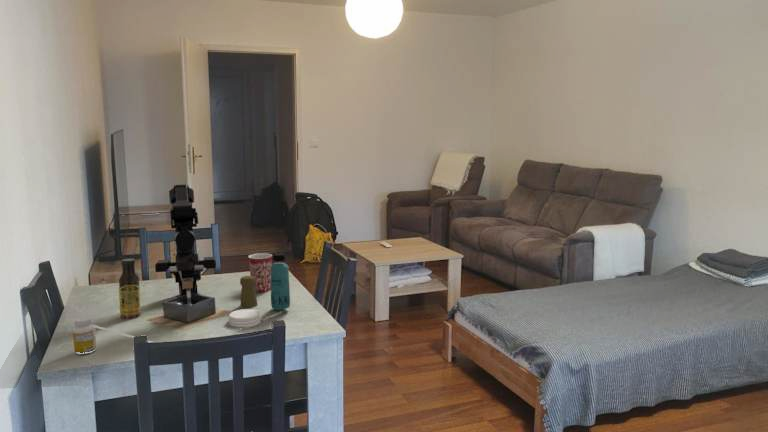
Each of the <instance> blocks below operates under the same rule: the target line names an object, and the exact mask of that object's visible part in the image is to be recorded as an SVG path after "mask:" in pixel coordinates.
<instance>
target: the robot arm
mask: <svg viewBox="0 0 768 432" xmlns="http://www.w3.org/2000/svg"><path fill="white" fill-rule="evenodd" d="M168 197H169V204H170V205H171V208H170V209H169V210H170V212H169V213H170V224H171V225H170V227H171V228H170V229H174V235H175V237H174V239H175V240H174V241H175V250H176V253H175V254H176V255H175V261H171V260H170V259H159V260H158V261H156V263H155V265H154V270H155V273H163V272H164V273H165V272H166V271H168V270H169V272H168V273H169V274H170V275H171V274H172V275H173V276H174V279H175V281H174V282H175V284H177V283H178V290H179V291H178V293H179V294H177V295H176V297H180V296H183V295H186V294H187V291H186V289H183V288H182V281H183V279H193V288H190V293H194V294H199V295H201V293H199V292H198V290H199V289H198V284H197V281H198V282H199V281H200V280H202V276H201V275H202V274H201V272H204V270H205V269H206V270H209V269H212V270H213V269H216V268H217V265H218V263H217V257H215V256H205V257H203V259H202V260H199V259H200V258H199V254H198V253H196V247H195V243H196V242H195V241H196V238H195V232H194V230H195V229H194V228H197V227H198V224H199V217H198V216H199V215H198V211H197V208H196V207H194V205H193V203H194V204H195V194H194V189H193V188H191V187H190V186H189V184H187V183H186V184H175V185H173V188H171V189H170V190H168Z"/></svg>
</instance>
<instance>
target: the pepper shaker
mask: <svg viewBox="0 0 768 432" xmlns="http://www.w3.org/2000/svg"><path fill="white" fill-rule="evenodd" d="M239 284H240V286H241V295H240V308H243V309H253V308H255V307H257V306H258V300H257V294H256V292H255V288H254V284H255V278H254V277H253V276H251V275H244V276H242V277H240V280H239Z"/></svg>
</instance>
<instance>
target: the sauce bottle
mask: <svg viewBox="0 0 768 432" xmlns="http://www.w3.org/2000/svg"><path fill="white" fill-rule="evenodd" d="M120 264H121V267H122V271H121V274H120V277H119V279H118V283H119V284H118V285H119V287H118V291H119V292H118V295H119V314H120V319H121V320H132V319H136V318H137V319H138V318H139V317H140V316H141V293H140V291H141V290H140V277H139V276H138V275H137V274H136V273H137V272H136V267H135V264H136V260H135V258H124V259H122V260H121V263H120Z"/></svg>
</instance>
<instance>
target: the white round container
mask: <svg viewBox="0 0 768 432" xmlns="http://www.w3.org/2000/svg"><path fill="white" fill-rule="evenodd" d="M261 321H262V320H261V312H260V311H259V310H257V309H255V308H254V309H253V308H243V309H237V310H234V311H232V313H230V314H228V324H229V325H230V326H231V327H232V326H233V327H239V328H240V329H248V328H253V327H256V326H258V325H260V324H261Z"/></svg>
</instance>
